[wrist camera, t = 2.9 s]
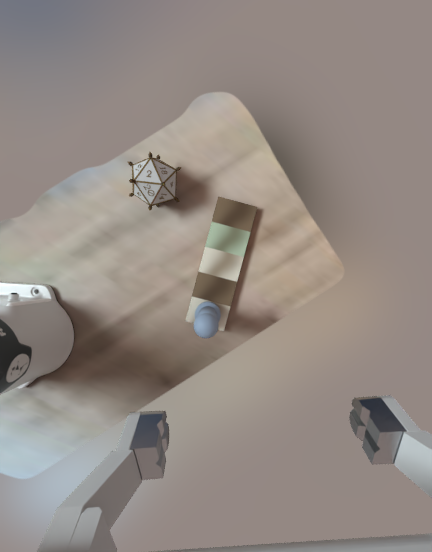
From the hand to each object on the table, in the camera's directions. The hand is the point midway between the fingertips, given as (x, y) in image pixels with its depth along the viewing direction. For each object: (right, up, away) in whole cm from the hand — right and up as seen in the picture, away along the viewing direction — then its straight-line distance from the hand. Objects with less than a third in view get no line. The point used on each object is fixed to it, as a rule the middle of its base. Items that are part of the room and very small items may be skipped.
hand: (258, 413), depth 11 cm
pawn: (-3, -1, +33) cm, 33 cm away
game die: (-12, +21, +34) cm, 42 cm away
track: (-1, +8, +34) cm, 35 cm away
